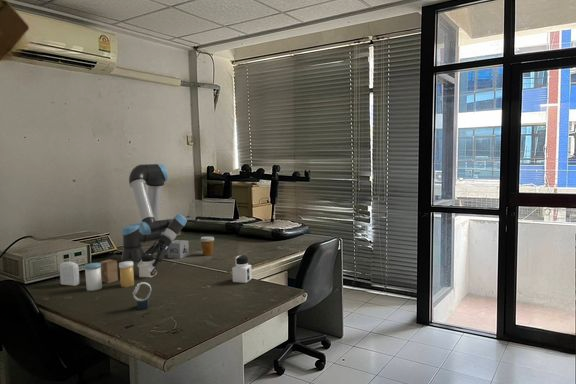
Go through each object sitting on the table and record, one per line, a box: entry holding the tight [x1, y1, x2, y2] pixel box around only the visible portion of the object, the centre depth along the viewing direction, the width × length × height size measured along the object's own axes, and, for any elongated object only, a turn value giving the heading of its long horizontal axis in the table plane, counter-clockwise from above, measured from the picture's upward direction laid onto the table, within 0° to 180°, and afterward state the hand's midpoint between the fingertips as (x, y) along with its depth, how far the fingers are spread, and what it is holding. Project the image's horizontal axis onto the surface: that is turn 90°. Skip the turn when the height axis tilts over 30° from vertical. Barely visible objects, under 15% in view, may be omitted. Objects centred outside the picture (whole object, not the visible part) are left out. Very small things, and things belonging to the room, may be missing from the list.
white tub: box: [83, 262, 103, 292], centre depth 215 cm, size 8×8×13 cm
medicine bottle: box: [138, 254, 158, 278], centre depth 237 cm, size 7×7×12 cm
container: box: [231, 255, 253, 284], centre depth 221 cm, size 8×8×13 cm
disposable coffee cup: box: [200, 235, 215, 257], centre depth 286 cm, size 10×10×12 cm
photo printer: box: [59, 261, 80, 287], centre depth 224 cm, size 10×4×12 cm, turn 72°
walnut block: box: [99, 259, 119, 284], centre depth 228 cm, size 6×6×11 cm
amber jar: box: [118, 261, 135, 288], centre depth 219 cm, size 7×7×12 cm
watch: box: [131, 281, 152, 311], centre depth 184 cm, size 6×8×11 cm
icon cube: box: [167, 239, 190, 259], centre depth 285 cm, size 10×10×10 cm
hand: (143, 269), depth 235 cm, fingers open, 12 cm apart
